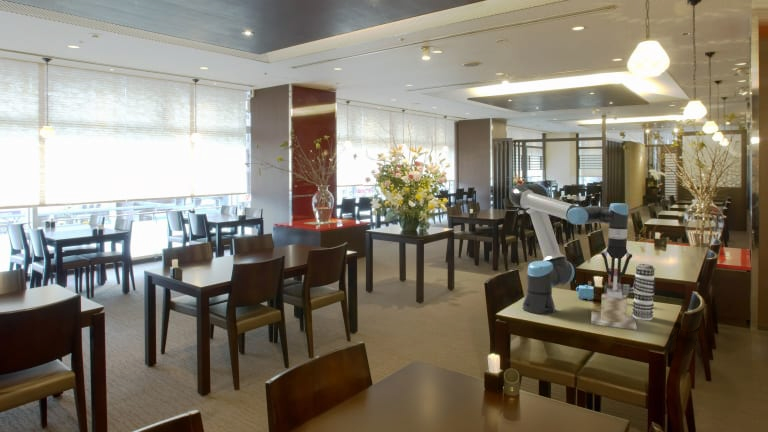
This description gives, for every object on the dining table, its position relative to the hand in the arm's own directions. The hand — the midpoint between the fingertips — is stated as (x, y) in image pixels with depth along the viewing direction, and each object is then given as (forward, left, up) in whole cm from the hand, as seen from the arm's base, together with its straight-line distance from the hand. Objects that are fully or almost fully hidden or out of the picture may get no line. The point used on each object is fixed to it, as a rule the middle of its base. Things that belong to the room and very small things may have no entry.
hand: (614, 289), depth 225 cm
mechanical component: (+7, +36, -15) cm, 40 cm away
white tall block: (0, 0, -12) cm, 12 cm away
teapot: (-11, +38, -15) cm, 42 cm away
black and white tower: (+13, +13, -15) cm, 24 cm away
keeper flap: (0, +6, +4) cm, 8 cm away
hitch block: (0, 0, -15) cm, 15 cm away
